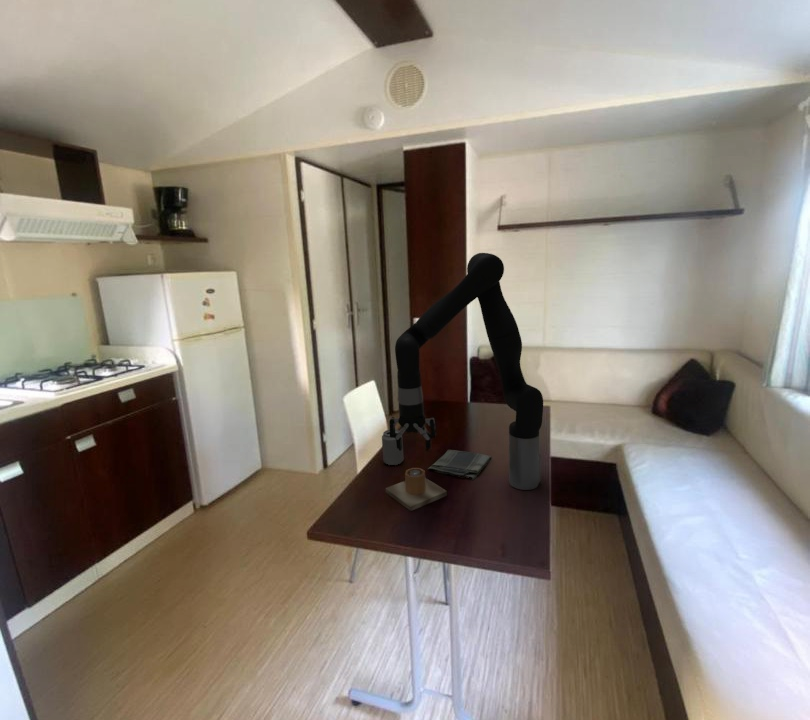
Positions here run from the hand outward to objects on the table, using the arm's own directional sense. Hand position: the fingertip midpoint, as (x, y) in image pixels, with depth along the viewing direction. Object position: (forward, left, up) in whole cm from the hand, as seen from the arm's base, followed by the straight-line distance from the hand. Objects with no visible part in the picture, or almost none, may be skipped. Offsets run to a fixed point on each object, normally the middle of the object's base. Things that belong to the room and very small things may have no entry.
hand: (414, 449), depth 133 cm
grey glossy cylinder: (0, 0, -13) cm, 14 cm away
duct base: (0, 0, -15) cm, 15 cm away
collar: (0, 0, -14) cm, 14 cm away
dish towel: (-24, -6, -16) cm, 29 cm away
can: (-7, -24, -15) cm, 29 cm away
